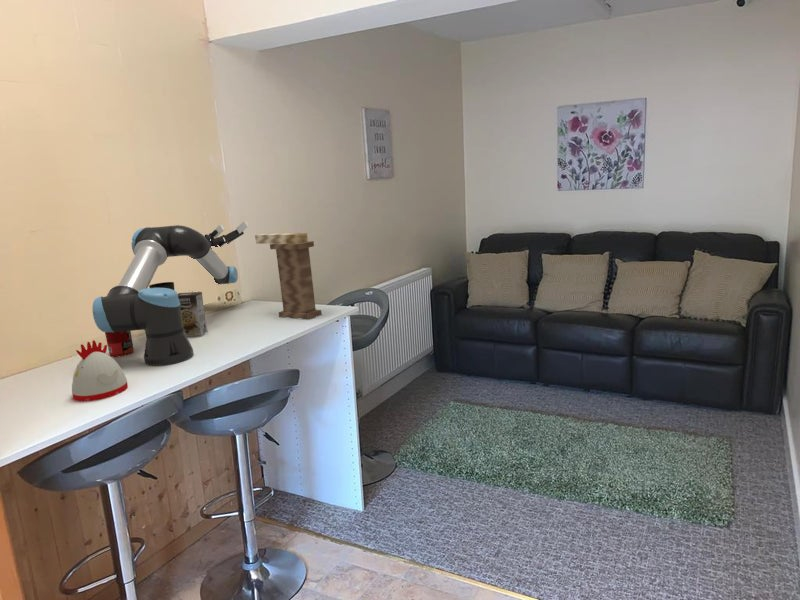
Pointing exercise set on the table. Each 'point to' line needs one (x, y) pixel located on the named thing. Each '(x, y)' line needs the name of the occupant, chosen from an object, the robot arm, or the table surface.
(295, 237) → the handle
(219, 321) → the table surface
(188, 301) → the coffee box
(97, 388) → the kitchen timer
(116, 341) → the canned food
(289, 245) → the pedestal
